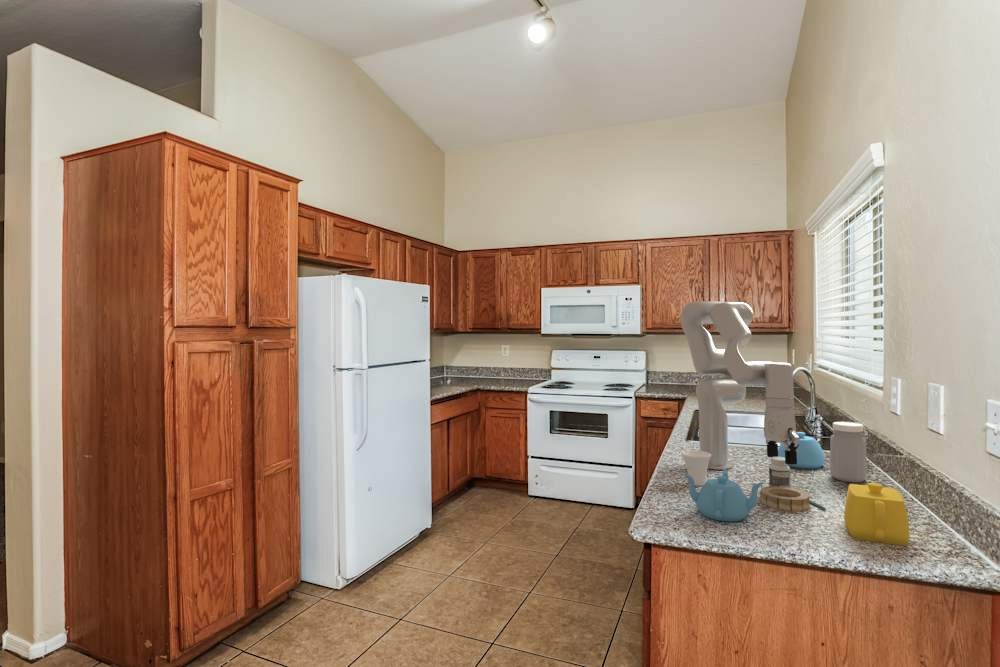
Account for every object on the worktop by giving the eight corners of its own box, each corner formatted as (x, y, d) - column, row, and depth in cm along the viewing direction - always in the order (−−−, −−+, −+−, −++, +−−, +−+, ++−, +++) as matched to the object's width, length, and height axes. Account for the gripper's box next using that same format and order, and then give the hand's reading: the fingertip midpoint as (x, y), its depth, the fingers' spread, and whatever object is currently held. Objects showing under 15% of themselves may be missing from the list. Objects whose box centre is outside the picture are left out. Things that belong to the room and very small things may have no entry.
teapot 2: (840, 514, 138) (840, 470, 138) (898, 522, 132) (898, 476, 132) (848, 541, 120) (848, 491, 120) (916, 552, 115) (915, 498, 114)
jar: (842, 473, 176) (841, 420, 176) (873, 480, 168) (872, 424, 168) (823, 477, 172) (823, 422, 172) (854, 484, 163) (854, 427, 163)
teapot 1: (715, 528, 130) (715, 487, 130) (680, 507, 144) (680, 471, 144) (765, 521, 134) (765, 482, 133) (725, 503, 148) (725, 467, 148)
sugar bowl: (768, 462, 192) (768, 430, 192) (795, 457, 199) (795, 427, 199) (807, 471, 179) (806, 438, 179) (834, 466, 185) (834, 434, 185)
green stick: (795, 495, 154) (795, 493, 154) (798, 495, 154) (798, 493, 154) (823, 510, 141) (823, 508, 141) (826, 510, 141) (826, 507, 141)
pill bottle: (771, 487, 162) (771, 455, 162) (792, 490, 159) (792, 457, 158) (767, 491, 158) (767, 458, 158) (788, 495, 154) (788, 461, 154)
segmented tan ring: (752, 496, 153) (752, 486, 153) (792, 496, 153) (792, 485, 153) (775, 511, 141) (775, 500, 141) (818, 510, 141) (818, 499, 141)
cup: (696, 478, 173) (695, 448, 172) (717, 485, 164) (717, 454, 164) (675, 481, 169) (674, 450, 169) (696, 489, 160) (696, 457, 160)
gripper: (752, 400, 166) (754, 454, 166) (783, 407, 149) (785, 467, 149) (776, 400, 166) (777, 454, 166) (809, 406, 149) (811, 466, 149)
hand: (781, 460), depth 157 cm, fingers open, 9 cm apart
